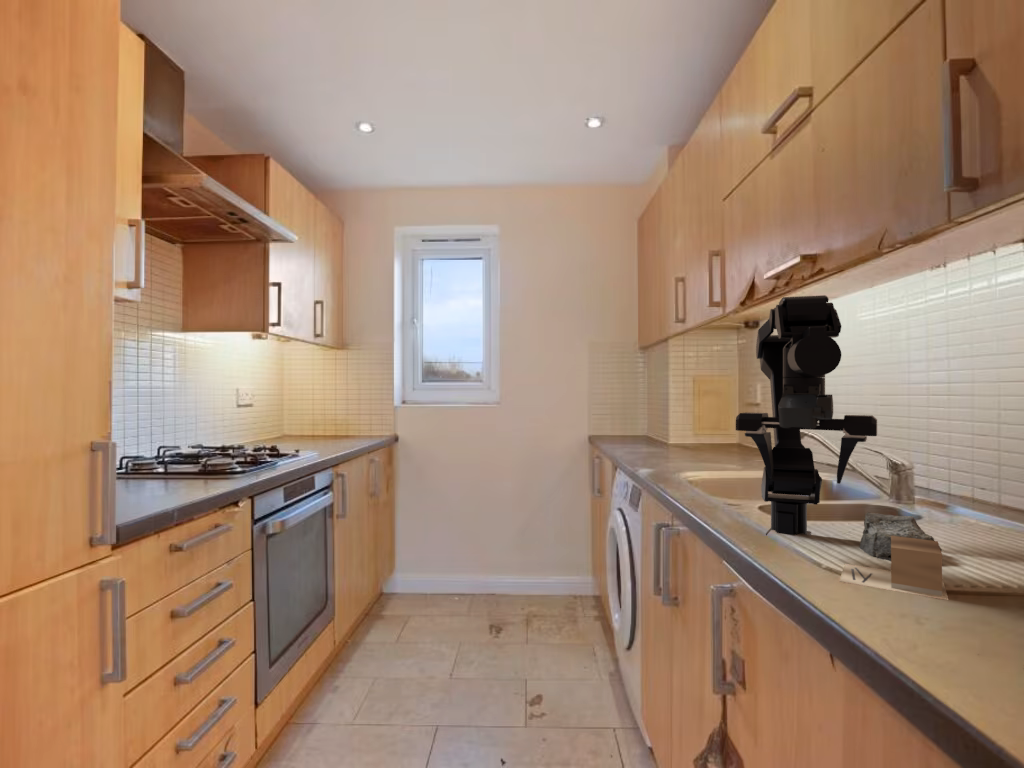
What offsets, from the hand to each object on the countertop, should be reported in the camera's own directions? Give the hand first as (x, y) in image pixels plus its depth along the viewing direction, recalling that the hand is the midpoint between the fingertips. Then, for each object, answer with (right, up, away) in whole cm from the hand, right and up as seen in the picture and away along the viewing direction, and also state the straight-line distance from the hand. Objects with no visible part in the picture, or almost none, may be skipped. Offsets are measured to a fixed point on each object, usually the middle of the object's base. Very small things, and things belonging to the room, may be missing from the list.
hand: (803, 480), depth 85 cm
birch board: (+5, -12, -13) cm, 18 cm away
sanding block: (+7, -11, -14) cm, 19 cm away
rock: (+14, -13, 0) cm, 18 cm away
